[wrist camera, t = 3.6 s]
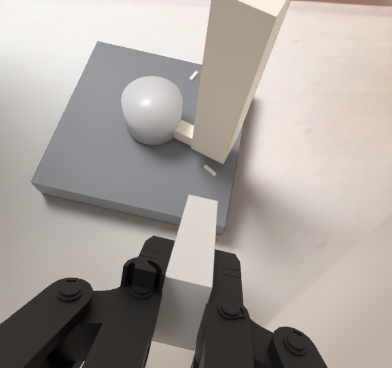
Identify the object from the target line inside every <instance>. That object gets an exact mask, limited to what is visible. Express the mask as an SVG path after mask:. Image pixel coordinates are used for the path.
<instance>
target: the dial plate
mask: <svg viewBox="0 0 392 368" xmlns="http://www.w3.org/2000/svg"><path fill="white" fill-rule="evenodd" d="M201 72H202V65H200V64H195V63H191V62H187V61H182V60H178V59H174V58H169V57H165V56H160V55H156V54H152V53H147V52H143V51H138V50H134V49H130V48H125V47H121V46H116V45H112V44H108V43H103V42H99V41H97V44H96V46H95V48H94V50H93V52H92V54H91V56H90V58H89V60H88V63H87V65H86V67H85V69H84V71H83V73H82V75H81V77H80V80H79V82H78V84H77V86H76V88H75V90H74V92H73V94H72V96H71V99H70V101H69V103H68V105H67V107H66V109H65V111H64V113H63V115H62V118H61V120H60V122H59V124H58V126H57V128H56V130H55V132H54V134H53V137H52V139H51V141H50V143H49V145H48V147H47V149H46V151H45V153H44V156H43V158H42V160H41V162H40V164H39V166H38V168H37V170H36V172H35V175H34V177H33V179H32V181H31V183H32V184H33V185H34V186H35V187H36V188H37V189H38V190H39V191H40V192H41V193H42V194H47V195H51V196H55V197H60V198H64V199H68V200H72V201H77V202H81V203H85V204H90V205H94V206H98V207H103V208H107V209H111V210H116V211H120V212H124V213H129V214H133V215H137V216H142V217H146V218H150V219H155V220H159V221H163V222H167V223H172V224H176V225H180V223H181V219H182V216H183V213H184V209H185V206H186V202H187V199H188V195H193V196H198V197H202V198H206V199H211V200H215V201H218V204H217V219H216V234H219V235H220V234H221V233H222V231H223V230H224V228H225V224H226V219H227V213H228V208H229V202H230V197H231V191H232V186H233V180H234V175H235V169H236V164H237V158H238V153H239V147H240V141H241V136H242V130H243V125H244V122H243V125H242V128H241V130H240V133H239V135H238V138H237V139H236V141H235V143H234V145H233V147H232V149H231V151H230V152H229V154H228V156H227V158H226V160H225V162H224V164H222V163H220V162H218V161H216V160H214V159H211V158H209V157H207V156H205V155H203V154H201V153H199V152H197V151H195V150H193V149H191V146H190V145H188V144H186V143H184V142H181V141H179V140H177V139H175V138H173V139H172V140H170V141H168V142H166V143H164V144H160V145H147V144H144V143H141V142H139V141H137V140H136V139H134V138H133V137H132V136H131V135H130V133H129V132H128V130H127V127H126V123H125V118H124V114H123V109H122V104H121V97H122V93H123V91H124V89H125V88H126V87H127V86H128V85H129V84H130V83H131V82H132V81H134V80H136V79H138V78H141V77H146V76H157V77H162V78H165V79H167V80H169V81H171V82H172V83H174V84H175V85H176V86H177V87H178V89H179V90H180V92H181V94H182V99H183V105H182V119H181V120H183V121H185V122H187V123H189V124H192V125H194V123H195V115H196V108H197V101H198V94H199V86H200V79H201Z"/></svg>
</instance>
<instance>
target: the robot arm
mask: <svg viewBox="0 0 392 368" xmlns="http://www.w3.org/2000/svg"><path fill="white" fill-rule="evenodd" d="M217 204H218V201H215V200H211V199H206V198H202V197H198V196H193V195H188V199H187V202H186V206H185V209H184V213H183V216H182V219H181V223H180V226H179V230H178V233H177V237H176V240H175V241H174V240H169V239H165V238H161V237H157V236H152V237H151V238H149V239H148V240H146V241H145V243H144V246H143V248H142V250H141V252H140V254H139V256H138V257H136V258H133V259H130V260H128V261H127V262H126V263H125V264H124V266H123V273H122V280H121V286H120V287H118V288H116V289H113V290H106V291H93V289H92V287H91V285H90V284H89V283H88V282H86V281H85V280H83V279H79V278H65V279H61V280H58V281H56V282H54V283H52V284H51V285H50V286H48V287H47V288H46V289H45V290H43V291H42V292H41V293H39V294H38V295H37V296H36V297H34V298H33V299H32V300H31V301H29V302H28V303H27V304H26V305H24V306H23V307H22V308H20V309H19V310H18V311H17V312H15V313H14V314H13V315H12V316H10V317H9V318H8V319H7V320H5V321H4V322H3V323H1V324H0V368H79V367H80V366H81V365H82V363H83V361H85V362H84V364H83V366H82V368H145V366H146V362H147V358H148V354H149V350H150V345H151V341H156V342H160V343H164V344H168V345H173V346H177V347H181V348H185V349H189V350H194V349H195V345H196V349H195V355H194V358H193V362H192V365H191V368H327V366H326V364H325V362H324V361H323V359H322V357H321V355H320V354H319V352H318V350H317V348H316V346H315V345H314V344H313V342H312V341H311V340H310V338H309V337H307V336H306V335H305V334H304V333H302V332H300V331H299V330H297V329H295V328H291V327H279V328H278V329H277V330H275V331H274V333H272V332H270V331H268V330H266V329H265V328H263V327H261V326H259V325H258V324H256V323H255V322H254V321H252V320H251V319H250V317H249V314H248V311H247V309H246V308H245V307H244V305H243V295H242V281H241V267H240V261H239V260H238V258H237V257H236V255H235V254H233V253H228V252H224V251H220V250H216V249H215V235H216V219H217Z"/></svg>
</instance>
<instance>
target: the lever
mask: <svg viewBox="0 0 392 368" xmlns="http://www.w3.org/2000/svg"><path fill="white" fill-rule="evenodd" d="M290 2H291V0H211V6H210V14H209V21H208V28H207V35H206V43H205V50H204V57H203V65H202V72H201V79H200V86H199V94H198V101H197V108H196V115H195V123H194V125H192V124H189V123H187V122H185V121H183V120H181V119H182V105H183V99H182V94H181V92H180V90H179V89H178V87H177V86H176V85H175V84H174V83H172V82H171V81H169V80H167V79H165V78H162V77H157V76H146V77H141V78H138V79H136V80H134V81H132V82H131V83H130V84H129V85H128V86H127V87H126V88H125V89H124V91H123V93H122V97H121V104H122V109H123V114H124V118H125V123H126V127H127V130H128V132H129V133H130V135H131V136H132V137H133V138H134V139H136V140H137V141H139V142H141V143H144V144H147V145H160V144H164V143H166V142H168V141H170V140H172V139H173V138H175V139H177V140H179V141H181V142H184V143H186V144H188V145H190V146H191V149H193V150H195V151H197V152H199V153H201V154H203V155H205V156H207V157H209V158H211V159H214V160H216V161H218V162H220V163H222V164H224V162H225V160H226V158H227V156H228V154H229V152H230V151H231V149H232V147H233V145H234V143H235V141H236V139H237V138H238V135H239V133H240V130H241V128H242V125H243V122H244V120H245V117H246V115H247V112H248V110H249V107H250V104H251V102H252V99H253V97H254V94H255V92H256V89H257V87H258V84H259V81H260V79H261V76H262V74H263V71H264V69H265V66H266V63H267V61H268V58H269V56H270V53H271V51H272V48H273V45H274V43H275V40H276V38H277V35H278V33H279V30H280V27H281V25H282V22H283V20H284V17H285V15H286V12H287V10H288V7H289V4H290Z"/></svg>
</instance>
